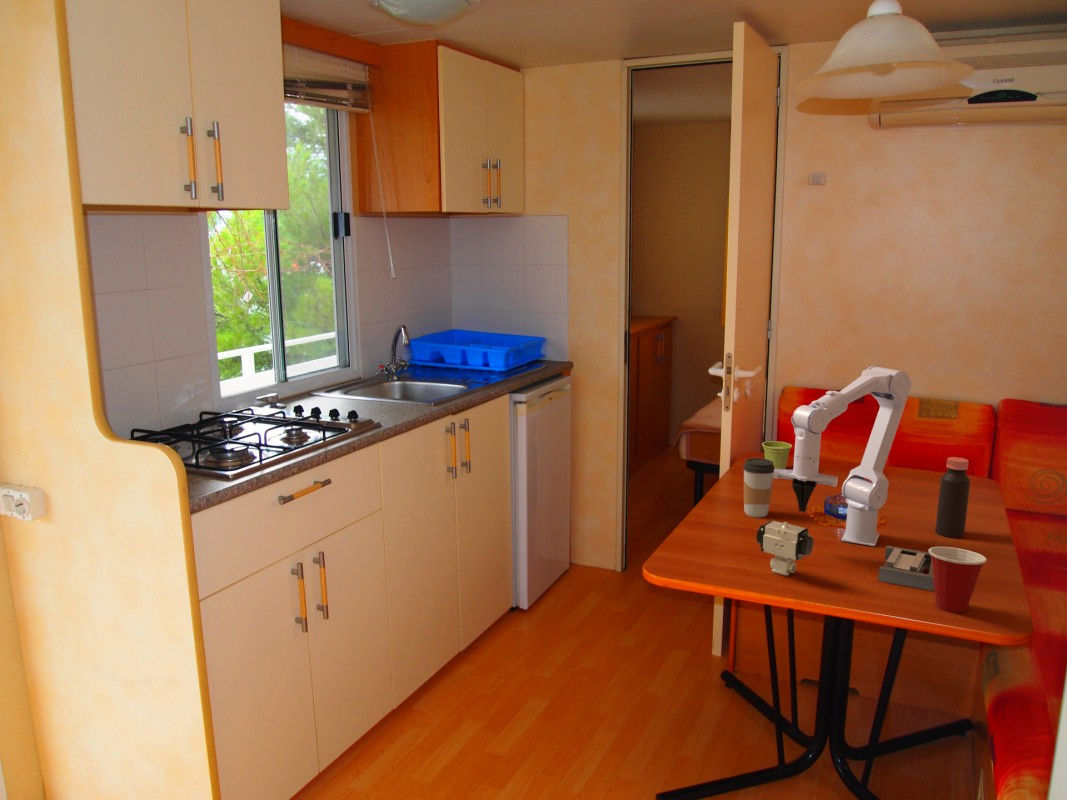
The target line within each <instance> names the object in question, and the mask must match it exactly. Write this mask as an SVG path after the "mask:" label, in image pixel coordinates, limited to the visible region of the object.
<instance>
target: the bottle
mask: <svg viewBox="0 0 1067 800" xmlns="http://www.w3.org/2000/svg"><path fill="white" fill-rule="evenodd" d="M968 468H969V460H968V459H966V458H964V457H955V456H950V457H947V458H946V471H947V472H945V473H943V474H942V476H941V477H940V485H939V487H940V488H939V493H938V504H937V512H936V522H935V529H934V530H935V532H936V534H937V535H940V536H941V537H945V538H950V539H952V538H953V539H959V538H963V537H964V536H965V533H966V532H965V531H966V522H967V513H968V505H969V494H970V487H971V478H970V477H969V476H968V475H967V473H966V472H968Z"/></svg>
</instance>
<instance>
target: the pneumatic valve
mask: <svg viewBox="0 0 1067 800" xmlns="http://www.w3.org/2000/svg"><path fill="white" fill-rule="evenodd" d="M756 543H757V544H759V545H760V546H759V547H760V548H761V549H760V551H761V552H764V553H768V554H771V555H774V556H775V557H771V559H770V560H769V561H770V563H769V567H770V568H771V572H772V573H774V574H777V575H783V576H786V577H787V576H789V575H790V574H794V573H795V571H796V567H797V566H796V563H795V561H800V560H801V559H803V558H804V557H806V556H807V557H808V556H810V554H811V553H812V551H813V548H814V537H813V536H810V533H809V528H806V527H802V526H797V525H793V524H789V522H788V521H784V522H780V521H775V520H769V521H768V522H767V523H766V522H765V524H761V525H760V526H759V527H758V529H757V533H756Z"/></svg>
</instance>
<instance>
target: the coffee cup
mask: <svg viewBox="0 0 1067 800" xmlns="http://www.w3.org/2000/svg"><path fill="white" fill-rule="evenodd" d="M773 477H774V465H773V462H772V461H771V460H767V459H765V458H759V457H751V458H746V460H745V462H744V463H743V505H744V506H743V511H744V513H745V515H746V516H748V517H751V518H765V517H767V516H768V514H769V509H770V504H771V497H772V491H773V480H774V478H773Z"/></svg>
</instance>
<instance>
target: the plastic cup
mask: <svg viewBox="0 0 1067 800" xmlns="http://www.w3.org/2000/svg"><path fill="white" fill-rule="evenodd" d="M927 552H928V553H930V556H931V560H932V567H933V580H934V590H935V591H934V597H935V598H934V599H935V604H936V607H937V608H939V609H940V610H943V611H945V612H949V613H953V614H960V613H961V614H963V613H965V612H966V611H967V608H969V604H970V601H971V598H972V596H973V593H974V590H975V587H976V584H977V580H978V577H979V576H980V575H979V574H980V573H981V570H982V568H983V565H984V564H985V563H986V562H987V558H986V557H985V556H984V555H982V554H981V553H978V552H975V551H972V550H969V549H965V548H959V547H952V546H933V547H930V548H929V549H928V551H927Z"/></svg>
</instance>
